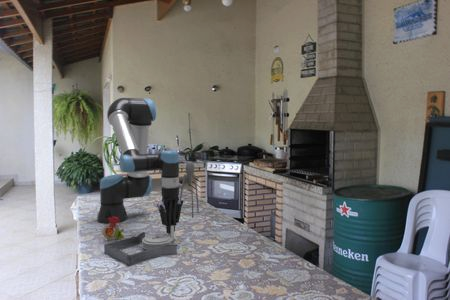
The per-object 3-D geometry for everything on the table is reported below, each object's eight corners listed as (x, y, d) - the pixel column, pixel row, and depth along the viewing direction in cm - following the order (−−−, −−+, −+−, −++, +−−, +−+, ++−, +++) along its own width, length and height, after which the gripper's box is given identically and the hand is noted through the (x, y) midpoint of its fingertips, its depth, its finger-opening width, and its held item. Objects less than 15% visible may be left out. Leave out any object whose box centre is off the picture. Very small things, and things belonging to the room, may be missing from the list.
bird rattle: (110, 247, 165) (129, 236, 169) (99, 226, 162) (118, 215, 165) (107, 243, 170) (125, 232, 174) (96, 222, 167) (115, 212, 171)
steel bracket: (101, 251, 155) (100, 242, 154) (144, 239, 169) (144, 231, 169) (133, 268, 138) (133, 258, 137) (178, 253, 152) (177, 245, 152)
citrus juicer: (193, 217, 205) (193, 162, 202) (175, 216, 207) (175, 162, 204) (198, 212, 216) (198, 160, 213) (182, 211, 218) (181, 159, 215)
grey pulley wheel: (158, 240, 169) (158, 229, 168) (178, 246, 161) (178, 235, 160) (135, 247, 159) (135, 236, 158) (156, 255, 151) (155, 242, 151)
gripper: (163, 189, 155) (164, 245, 158) (187, 185, 165) (187, 238, 167) (152, 187, 160) (153, 241, 163) (176, 183, 170) (177, 234, 172)
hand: (170, 239), depth 165 cm, fingers closed
